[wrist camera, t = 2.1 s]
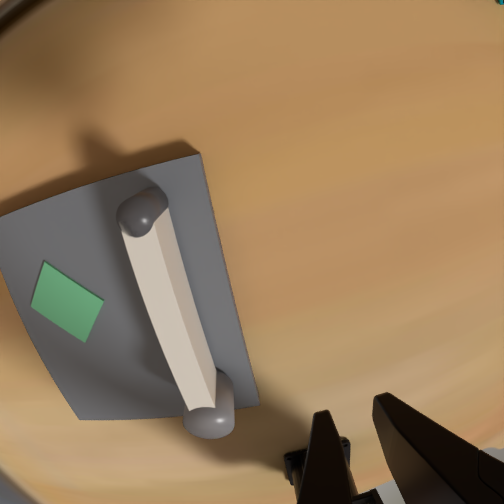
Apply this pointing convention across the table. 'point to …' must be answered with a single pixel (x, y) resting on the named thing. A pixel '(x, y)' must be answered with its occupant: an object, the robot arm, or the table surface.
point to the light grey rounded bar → (175, 313)
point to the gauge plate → (119, 294)
